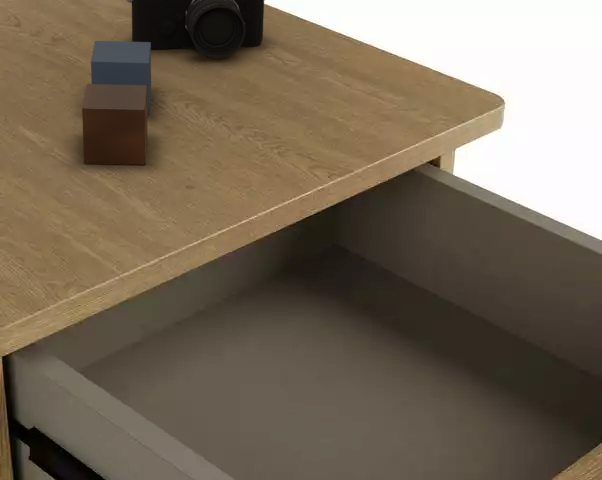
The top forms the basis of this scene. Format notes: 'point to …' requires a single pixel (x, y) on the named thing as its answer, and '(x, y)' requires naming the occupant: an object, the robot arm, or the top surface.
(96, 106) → the walnut block
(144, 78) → the slate block
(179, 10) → the camera
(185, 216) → the top surface
